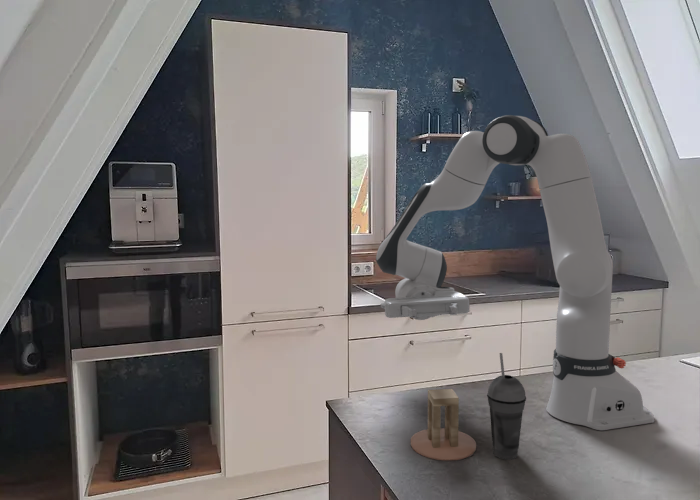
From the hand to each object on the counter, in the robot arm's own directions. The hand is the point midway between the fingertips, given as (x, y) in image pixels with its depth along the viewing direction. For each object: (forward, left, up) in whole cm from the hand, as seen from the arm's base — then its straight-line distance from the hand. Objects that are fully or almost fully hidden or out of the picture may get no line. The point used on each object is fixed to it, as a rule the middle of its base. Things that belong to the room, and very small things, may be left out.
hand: (433, 312), depth 123 cm
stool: (+2, +16, -23) cm, 28 cm away
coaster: (+2, +16, -24) cm, 29 cm away
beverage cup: (-9, +21, -24) cm, 33 cm away
